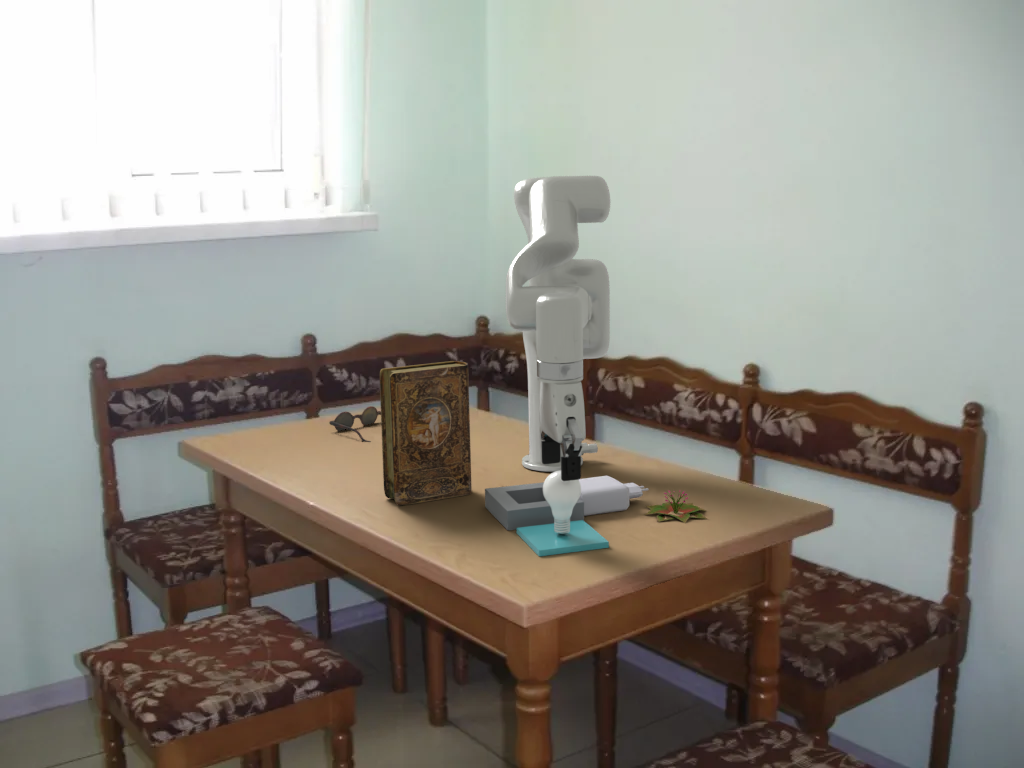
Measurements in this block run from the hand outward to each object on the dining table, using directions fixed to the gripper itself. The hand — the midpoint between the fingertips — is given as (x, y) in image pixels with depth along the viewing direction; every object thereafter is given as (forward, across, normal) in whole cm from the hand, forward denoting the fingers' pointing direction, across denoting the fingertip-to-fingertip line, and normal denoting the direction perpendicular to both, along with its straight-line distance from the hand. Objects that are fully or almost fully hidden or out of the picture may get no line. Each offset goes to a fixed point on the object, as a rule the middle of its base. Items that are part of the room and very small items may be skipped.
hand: (560, 471), depth 187 cm
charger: (+13, +14, -14) cm, 24 cm away
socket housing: (+12, +14, 0) cm, 19 cm away
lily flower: (+13, +6, -24) cm, 28 cm away
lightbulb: (+11, -1, 0) cm, 11 cm away
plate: (+12, -1, 0) cm, 12 cm away
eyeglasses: (+14, +86, +16) cm, 89 cm away
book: (+13, +31, +15) cm, 37 cm away
